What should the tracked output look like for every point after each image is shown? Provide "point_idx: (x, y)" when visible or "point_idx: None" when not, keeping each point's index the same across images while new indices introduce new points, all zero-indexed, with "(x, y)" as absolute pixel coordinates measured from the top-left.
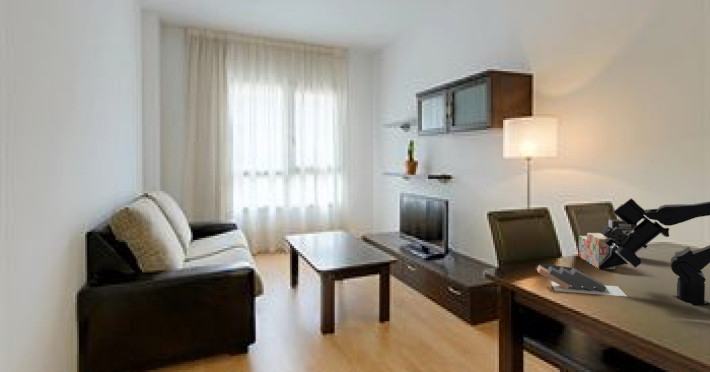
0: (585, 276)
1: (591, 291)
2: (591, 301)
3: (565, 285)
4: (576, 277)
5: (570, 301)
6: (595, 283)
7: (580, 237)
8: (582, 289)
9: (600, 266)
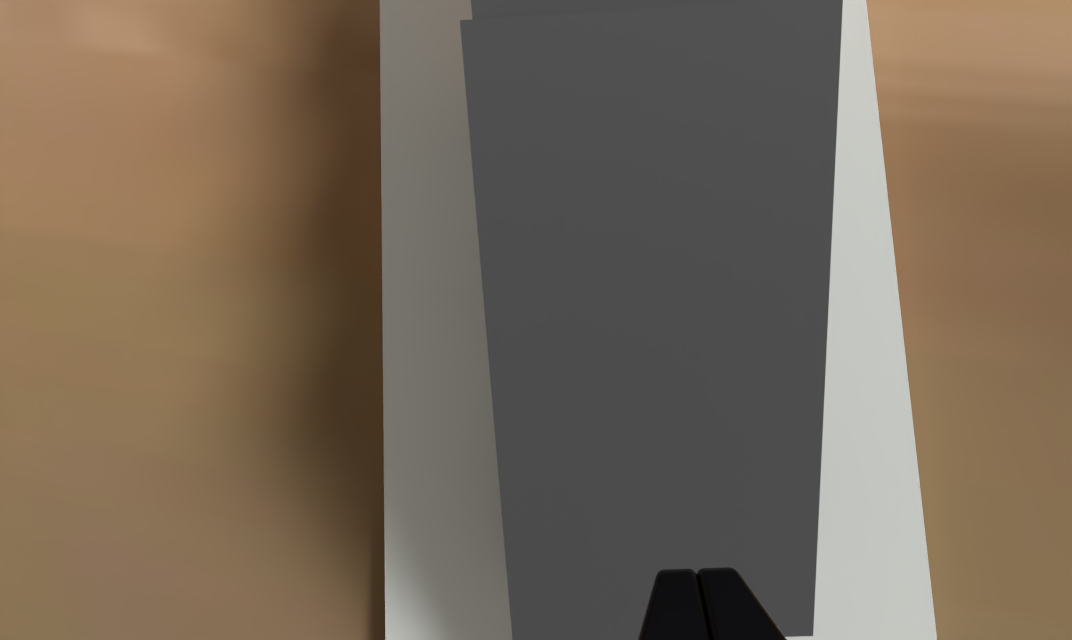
0: (497, 259)
1: None
2: (114, 341)
3: None
4: None
5: (54, 78)
6: (502, 458)
7: None
8: None
9: (650, 621)
